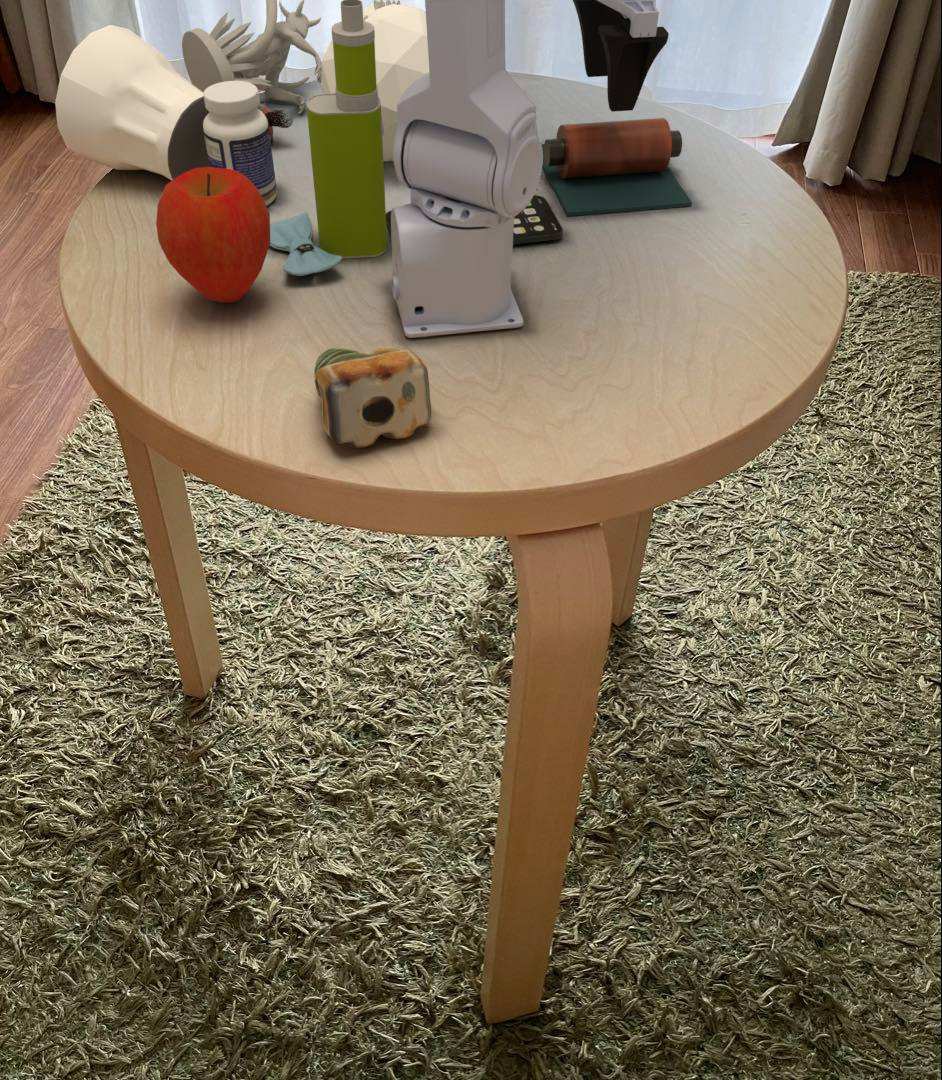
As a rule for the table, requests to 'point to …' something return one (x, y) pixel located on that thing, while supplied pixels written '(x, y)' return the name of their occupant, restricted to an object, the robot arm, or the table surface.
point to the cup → (130, 106)
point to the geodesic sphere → (389, 59)
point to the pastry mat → (616, 192)
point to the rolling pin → (612, 148)
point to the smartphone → (529, 223)
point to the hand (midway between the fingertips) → (609, 91)
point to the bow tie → (300, 246)
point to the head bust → (276, 122)
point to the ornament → (372, 394)
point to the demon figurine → (250, 53)
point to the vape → (349, 145)
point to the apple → (214, 231)
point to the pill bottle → (239, 134)
